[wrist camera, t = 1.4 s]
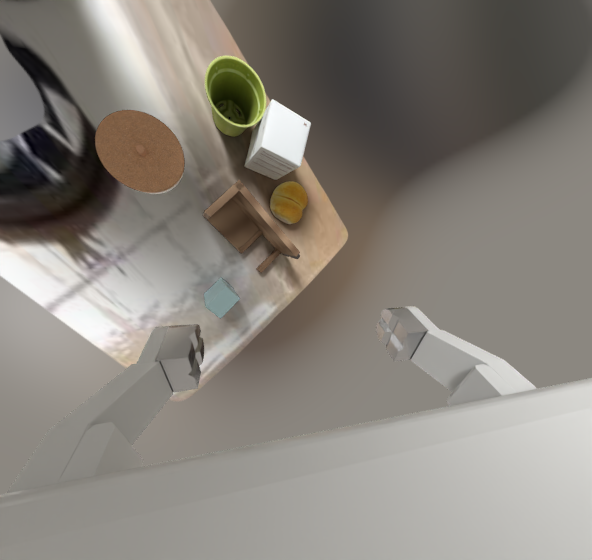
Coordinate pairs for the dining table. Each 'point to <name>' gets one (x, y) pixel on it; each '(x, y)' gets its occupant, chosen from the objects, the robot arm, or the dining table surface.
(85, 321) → the dining table surface
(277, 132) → the supplement box
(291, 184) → the bread roll
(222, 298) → the pale teal box
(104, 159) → the lidded jar
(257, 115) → the plant pot
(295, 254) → the carcass
